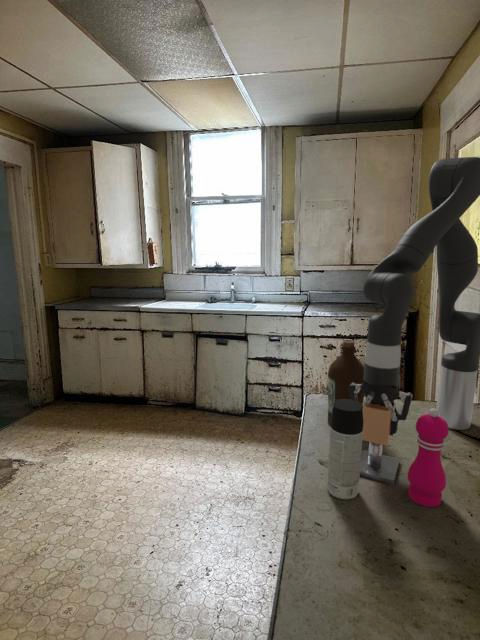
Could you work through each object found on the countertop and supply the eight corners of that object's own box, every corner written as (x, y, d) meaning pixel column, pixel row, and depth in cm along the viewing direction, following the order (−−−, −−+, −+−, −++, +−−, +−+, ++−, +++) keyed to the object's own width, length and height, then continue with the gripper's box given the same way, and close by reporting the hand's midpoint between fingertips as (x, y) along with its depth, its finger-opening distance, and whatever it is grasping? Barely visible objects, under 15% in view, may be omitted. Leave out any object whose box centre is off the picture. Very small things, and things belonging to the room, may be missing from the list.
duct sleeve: (366, 428, 97) (368, 397, 95) (392, 434, 94) (394, 403, 92) (360, 439, 92) (362, 406, 90) (387, 446, 89) (390, 412, 87)
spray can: (359, 484, 88) (365, 400, 83) (357, 504, 81) (364, 413, 77) (328, 479, 90) (332, 395, 86) (324, 497, 83) (329, 408, 79)
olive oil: (358, 416, 121) (363, 337, 116) (366, 433, 111) (373, 346, 105) (323, 415, 122) (326, 336, 117) (328, 432, 111) (332, 346, 106)
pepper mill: (427, 513, 79) (438, 419, 74) (398, 492, 85) (406, 405, 81) (451, 502, 82) (462, 412, 78) (421, 483, 88) (430, 399, 84)
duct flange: (357, 452, 101) (359, 426, 99) (399, 462, 96) (401, 436, 95) (347, 472, 92) (349, 444, 91) (393, 484, 88) (395, 455, 86)
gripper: (418, 362, 89) (412, 431, 92) (354, 353, 96) (350, 417, 99) (414, 371, 82) (407, 445, 86) (345, 361, 89) (341, 430, 93)
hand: (376, 430), depth 92 cm, fingers closed on duct sleeve, 6 cm apart
